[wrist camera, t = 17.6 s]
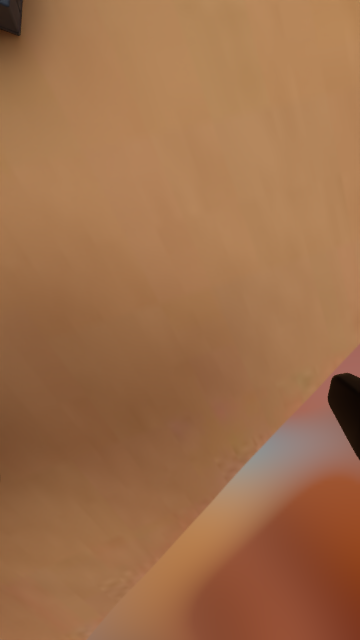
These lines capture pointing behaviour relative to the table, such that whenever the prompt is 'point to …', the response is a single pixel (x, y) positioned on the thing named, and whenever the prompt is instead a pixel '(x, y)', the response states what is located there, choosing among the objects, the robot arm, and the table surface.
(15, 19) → the tray
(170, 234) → the table surface
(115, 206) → the table surface
